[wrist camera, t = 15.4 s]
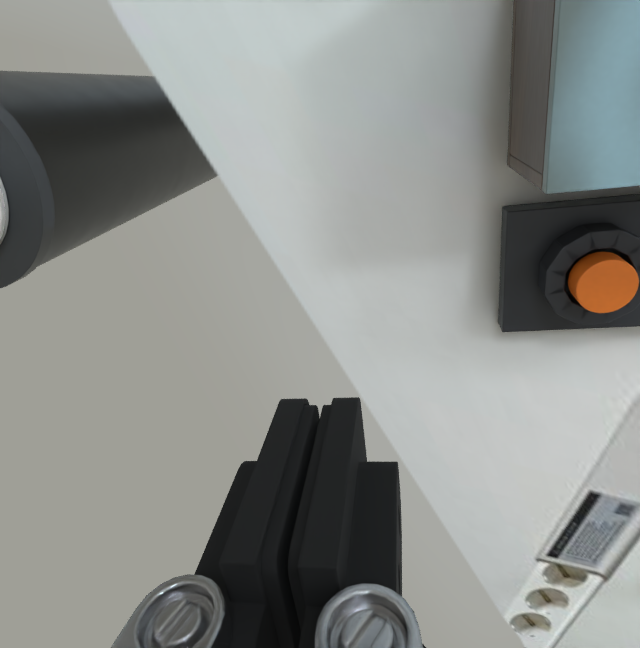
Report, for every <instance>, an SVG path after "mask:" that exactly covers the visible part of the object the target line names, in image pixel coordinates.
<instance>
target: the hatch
mask: <svg viewBox="0 0 640 648" xmlns="http://www.w3.org/2000/svg"><path fill="white" fill-rule="evenodd" d="M632 186H640V0H555V13H554V27H553V42H552V56H551V70H550V84H549V98H548V113H547V127H546V141H545V155H544V170H543V184H542V191H543V192H544V193H545V194H555V193H566V192H577V191H588V190H599V189H610V188H621V187H632Z"/></svg>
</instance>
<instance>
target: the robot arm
mask: <svg viewBox="0 0 640 648" xmlns="http://www.w3.org/2000/svg"><path fill="white" fill-rule="evenodd" d="M8 221H9V207H8V202H7V196H6V192H5V189H4V186H3V183H2V180H1V178H0V244H1V243H2V241H3V239H4V237H5V234H6V231H7V226H8ZM401 533H402V531H401V500H400V484H399V470H398V462H367V457H366V448H365V439H364V429H363V420H362V411H361V402H360V398H333V401H332V404H331V405H324V406H323V408H322V412H321V417H320V418H319V412H318V408H317V406H316V405H309V402H308V400H307V399H281V400H280V402H279V404H278V407H277V410H276V412H275V415H274V417H273V420H272V423H271V425H270V428H269V431H268V433H267V436H266V439H265V441H264V444H263V447H262V449H261V452H260V454H259V457H258V460H257V461H245V462H243V463H242V464H241V466H240V467H239V469H238V471H237V474H236V476H235V479H234V481H233V484H232V486H231V488H230V491H229V493H228V495H227V498H226V500H225V503H224V505H223V508H222V510H221V512H220V515H219V517H218V519H217V522H216V524H215V527H214V529H213V532H212V534H211V536H210V539H209V541H208V543H207V546H206V548H205V551H204V553H203V555H202V558H201V560H200V562H199V565H198V567H197V570H196V572H195V574H194V575H183V576H179V577H175V578H172V579H170V580H169V581H166V582H164V583H162V584H161V585H159V586H158V587H157V588H155V589H154V590H153V591H152V592H150V593H149V594H148V595H147V596H146V597H145V598H144V599H143V601H142V602H141V603H140V604H139V606H138V607H137V608H136V610H135V611H134V613H133V614H132V616H131V617H130V619H129V620H128V622H127V624H126V625H125V626H124V628H123V629H122V631H121V633H120V634H119V636H118V637H117V639H116V640H115V642H114V643H113V645H112V647H111V648H426V647H425V646H424V645H423V644H422V640H421V634H420V629H419V625H418V622H417V620H416V617H415V614H414V611H413V610H412V608H411V607H410V606H409V604H408V603H407V602H406V600H405V599H404V598H403V597H402V534H401Z"/></svg>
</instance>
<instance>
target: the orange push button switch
mask: <svg viewBox="0 0 640 648" xmlns="http://www.w3.org/2000/svg"><path fill="white" fill-rule="evenodd" d="M595 252H611V253H614V254H616V255H618V256H620V257H621V258H622V259H624V260H625V261H626V262H627V263H629V264H630V265H631V266H632V267H633V268H634V269H635V270H636V272H637V274H638V278H639V285H638V289H637V292H636V294H635V296H634V297H633V298H632V300H631V301H630V302H629V303H627V304H626V305H625V306H624V307H622V308H620V309H618V310H616V311H613V312H608V313H595V312H591V311H589V310H587V309H585V308H584V307H582V306H581V305H580V303H579V302H578V301H577V300H576V299H575V297H574V296H573V295H572V294H571V292H570V290H569V287H568V277H569V273H570V271H571V269H572V268H573V266H574V265H575V264H576V263H577V262H578V261H579V260H580V259H582V258H583V257H585V256H587V255H589V254H592V253H595ZM498 323H499V325H500V327H501V330H502V332H517V331H540V330H563V329H586V328H609V327H632V326H640V194H637V195H625V196H614V197H603V198H592V199H581V200H569V201H558V202H547V203H536V204H524V205H513V206H503V208H502V234H501V262H500V289H499V316H498Z"/></svg>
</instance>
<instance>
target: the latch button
mask: <svg viewBox="0 0 640 648" xmlns="http://www.w3.org/2000/svg"><path fill="white" fill-rule="evenodd" d="M638 285H639V278H638V274H637V272H636V270H635V269H634V268H633V267H632V266H631V265H630V264H629V263H627V262H626V261H625V260H624V259H622V258H621V257H620V256H618V255H616V254H614V253H611V252H595V253H592V254H589V255H587V256H585V257H583V258H582V259H580V260H579V261H578V262H577V263H576V264H575V265H574V266H573V268H572V269H571V271H570V273H569V277H568V287H569V290H570V292H571V294H572V295H573V296H574V297H575V299H576V300H577V301H578V302H579V303H580V305H581V306H582V307H584V308H585V309H587V310H589V311H591V312H595V313H608V312H613V311H616V310H618V309H620V308H622V307H624V306H625V305H626V304H627V303H629V302H630V301H631V300H632V298H633V297H634V296H635V294H636V292H637V289H638Z"/></svg>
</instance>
